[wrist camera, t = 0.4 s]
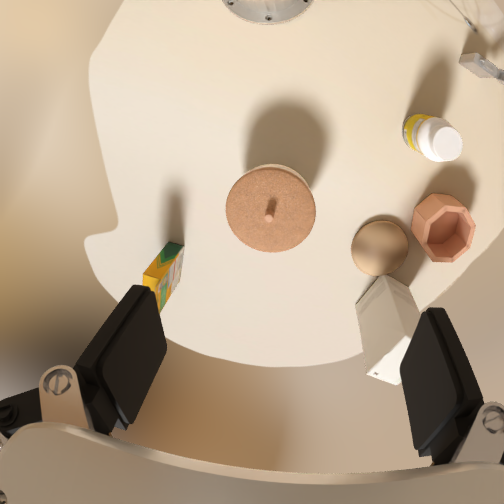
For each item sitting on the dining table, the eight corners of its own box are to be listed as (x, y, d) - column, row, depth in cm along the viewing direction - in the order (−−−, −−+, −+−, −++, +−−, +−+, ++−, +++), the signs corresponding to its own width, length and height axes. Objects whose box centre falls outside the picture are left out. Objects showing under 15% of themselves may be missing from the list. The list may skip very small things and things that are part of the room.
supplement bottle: (441, 127, 34) (475, 139, 26) (423, 158, 37) (453, 177, 29) (411, 105, 34) (441, 110, 25) (394, 137, 37) (419, 151, 28)
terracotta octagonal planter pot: (417, 191, 40) (429, 203, 35) (464, 196, 38) (479, 209, 34) (407, 244, 44) (417, 261, 39) (453, 247, 42) (465, 262, 38)
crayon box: (167, 240, 50) (136, 280, 40) (184, 245, 50) (156, 287, 40) (164, 276, 53) (136, 318, 43) (179, 281, 53) (154, 325, 43)
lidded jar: (235, 155, 41) (219, 172, 33) (314, 156, 40) (318, 174, 32) (239, 226, 47) (225, 257, 38) (311, 229, 45) (313, 261, 37)
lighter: (458, 63, 29) (487, 61, 22) (461, 53, 28) (490, 50, 21) (494, 88, 29) (525, 92, 22) (496, 79, 28) (527, 81, 21)
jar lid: (354, 218, 43) (355, 221, 42) (411, 222, 42) (412, 224, 41) (347, 271, 48) (348, 275, 47) (400, 273, 46) (402, 276, 45)
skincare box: (380, 319, 51) (395, 388, 38) (351, 304, 50) (362, 376, 37) (410, 285, 47) (437, 352, 34) (382, 268, 46) (406, 336, 33)
